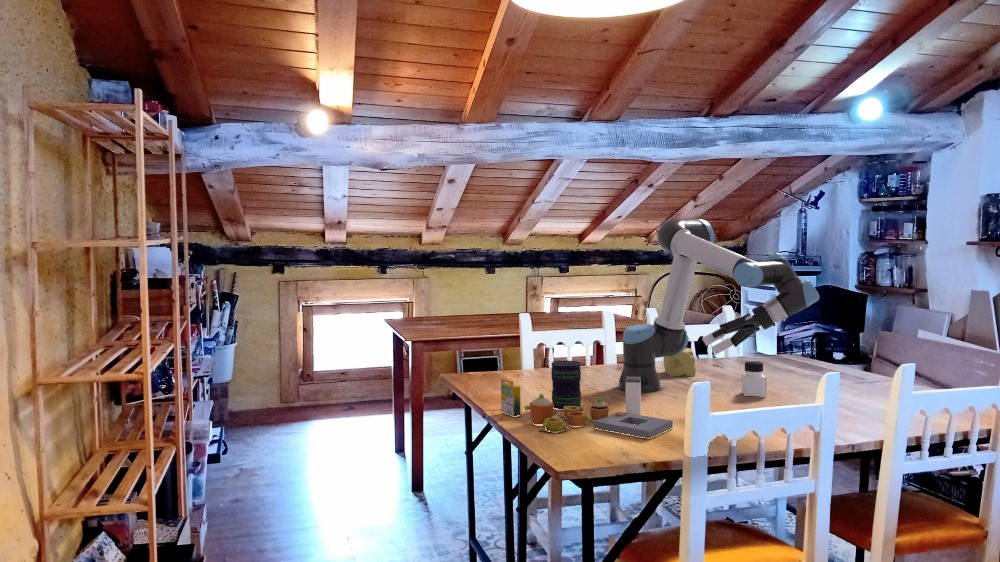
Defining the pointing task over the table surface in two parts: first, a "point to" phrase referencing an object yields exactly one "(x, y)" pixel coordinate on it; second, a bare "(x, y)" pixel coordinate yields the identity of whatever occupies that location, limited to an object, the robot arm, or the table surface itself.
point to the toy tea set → (544, 411)
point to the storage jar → (566, 384)
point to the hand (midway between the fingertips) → (708, 346)
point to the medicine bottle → (753, 379)
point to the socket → (626, 422)
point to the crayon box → (510, 398)
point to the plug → (633, 395)
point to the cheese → (680, 364)
